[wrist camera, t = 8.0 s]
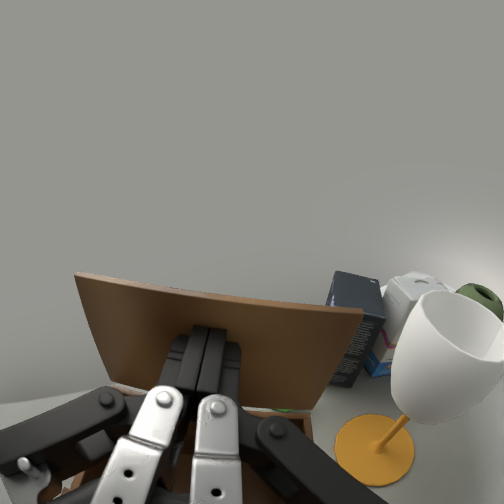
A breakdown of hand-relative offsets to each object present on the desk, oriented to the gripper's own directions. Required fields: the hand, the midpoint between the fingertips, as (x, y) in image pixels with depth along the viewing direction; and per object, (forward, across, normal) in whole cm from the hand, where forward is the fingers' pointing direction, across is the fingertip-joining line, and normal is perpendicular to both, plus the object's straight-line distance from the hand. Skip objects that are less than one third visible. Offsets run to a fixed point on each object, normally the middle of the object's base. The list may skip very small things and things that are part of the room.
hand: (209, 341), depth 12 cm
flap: (0, 0, +2) cm, 2 cm away
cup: (+1, -16, +15) cm, 22 cm away
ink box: (+14, -22, +15) cm, 30 cm away
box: (+14, -13, +15) cm, 25 cm away
